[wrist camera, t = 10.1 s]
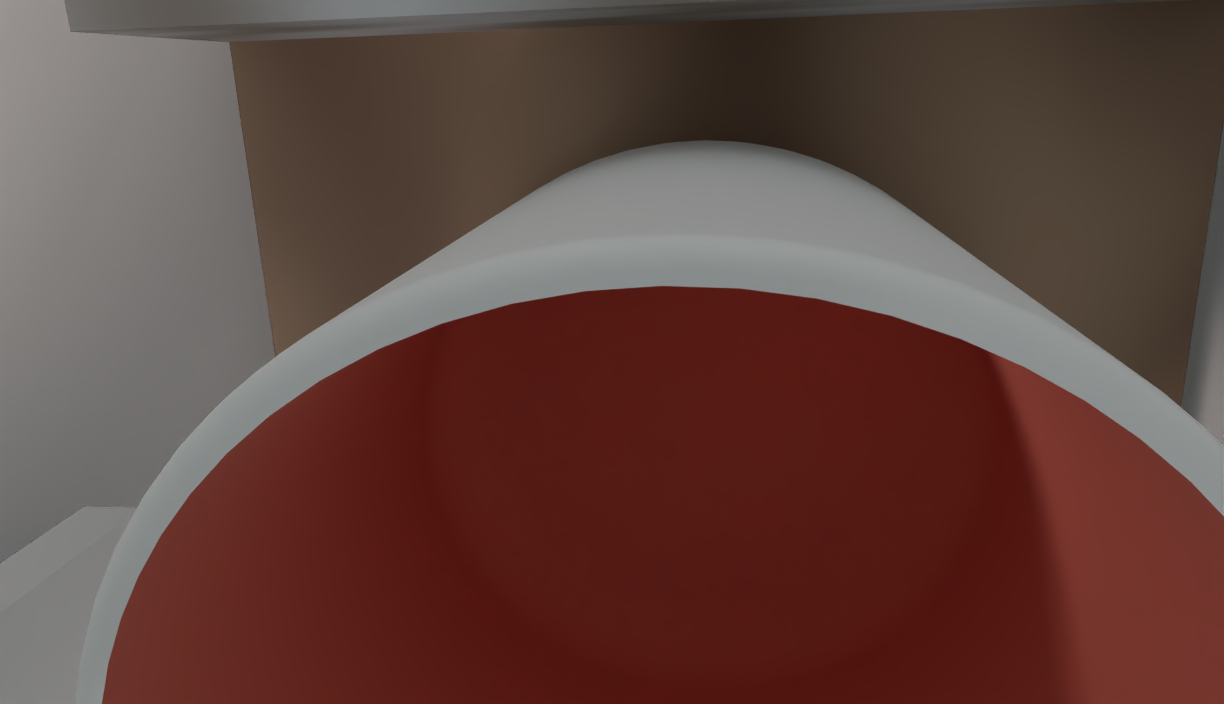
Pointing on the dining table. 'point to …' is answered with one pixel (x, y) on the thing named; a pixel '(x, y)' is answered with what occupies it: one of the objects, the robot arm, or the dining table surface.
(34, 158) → the dining table surface
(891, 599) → the cup
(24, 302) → the dining table surface
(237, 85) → the cradle
